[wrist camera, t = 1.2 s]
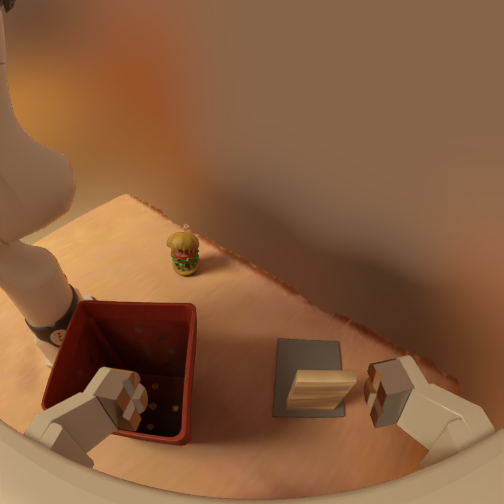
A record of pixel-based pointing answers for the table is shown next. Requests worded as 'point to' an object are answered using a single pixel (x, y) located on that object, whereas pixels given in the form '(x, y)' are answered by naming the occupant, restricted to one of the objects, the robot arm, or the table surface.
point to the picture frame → (319, 389)
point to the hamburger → (184, 252)
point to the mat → (303, 358)
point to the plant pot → (132, 360)
